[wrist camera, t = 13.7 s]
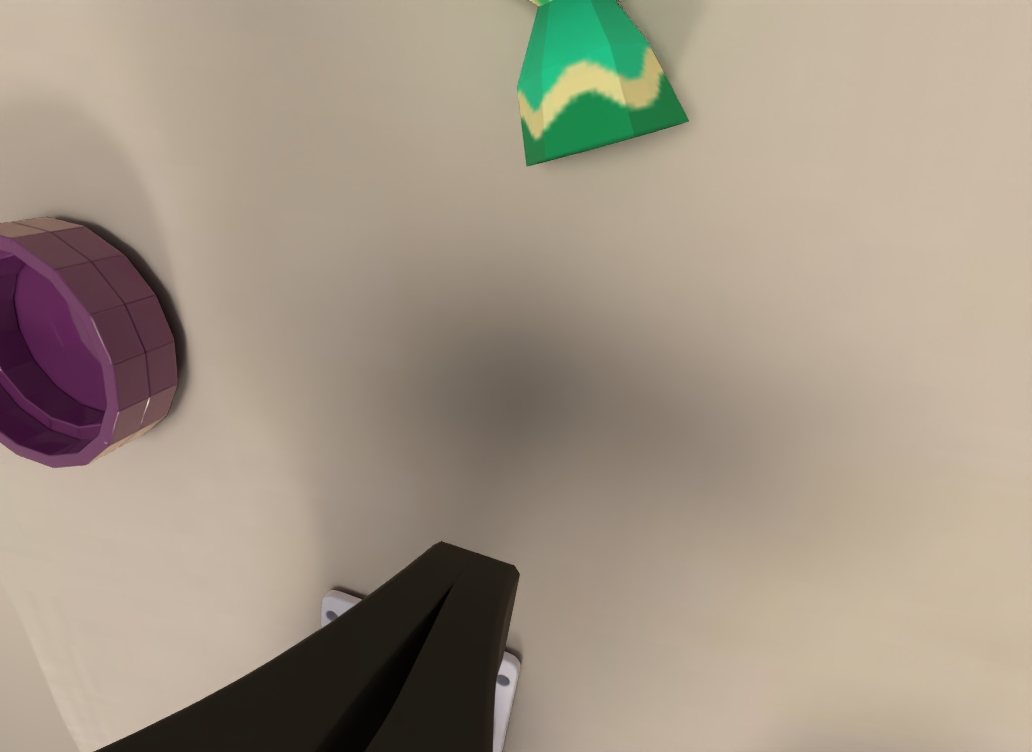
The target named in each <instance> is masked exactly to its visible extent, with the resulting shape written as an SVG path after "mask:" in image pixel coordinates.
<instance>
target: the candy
mask: <svg viewBox="0 0 1032 752" xmlns="http://www.w3.org/2000/svg"><path fill="white" fill-rule="evenodd" d="M529 1H531V2H532V3H534V4H536V5H538V10H537V14H536V18H535V21H534V25H533V29H532V33H531V36H530V40H529V44H528V48H527V52H526V55H525V59H524V63H523V67H522V70H521V74H520V78H519V82H518V85H517V91H518V99H519V107H520V116H521V124H522V132H523V140H524V148H525V157H526V165H527V166H531V165H535V164H539V163H542V162H546V161H550V160H554V159H558V158H562V157H565V156H569V155H573V154H577V153H581V152H584V151H588V150H591V149H595V148H599V147H602V146H606V145H609V144H613V143H617V142H620V141H624V140H627V139H631V138H635V137H638V136H642V135H645V134H649V133H653V132H656V131H659V130H662V129H666V128H669V127H672V126H676V125H679V124H682V123H685V122H689V120H688V118H687V116H686V114H685V112H684V110H683V108H682V106H681V104H680V103H679V101H678V99H677V97H676V95H675V93H674V91H673V89H672V87H671V85H670V83H669V82H668V80H667V78H666V76H665V74H664V72H663V70H662V68H661V66H660V64H659V62H658V61H657V59H656V57H655V55H654V53H653V51H652V49H651V47H650V45H649V43H648V42H647V40H646V39H645V38H644V37H643V35H642V34H641V33H640V32H639V30H638V29H637V28H636V26H635V25H634V24H633V23H632V21H631V20H630V19H629V18H628V16H627V15H626V14H625V12H624V11H623V10H622V9H621V7H620V6H619V5H618V4H617V2H616V1H615V0H529Z"/></svg>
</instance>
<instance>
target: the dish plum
mask: <svg viewBox="0 0 1032 752" xmlns="http://www.w3.org/2000/svg"><path fill="white" fill-rule="evenodd" d="M177 382H178V376H177V364H176V352H175V342H174V337H173V335H172V332H171V330H170V327H169V325H168V322H167V319H166V317H165V314H164V312H163V310H162V308H161V306H160V303H159V301H158V298H157V296H155V293H154V292H153V290H152V289H151V288H150V287H149V285H148V284H147V283H146V281H145V280H144V279H143V278H142V276H141V275H140V274H139V272H138V271H137V270H136V269H135V267H134V266H133V265H132V263H131V262H130V261H129V260H128V258H127V257H126V256H125V255H123V253H122V252H120V251H119V250H117V249H116V248H115V247H113V246H112V245H110V244H109V243H108V242H106V241H105V240H103V239H102V238H101V237H99V236H98V235H96V234H95V233H94V232H92V231H91V230H89V229H88V228H86V227H85V226H82V225H78V224H74V223H70V222H66V221H62V220H58V219H54V218H50V217H41V218H33V219H26V220H19V221H12V222H4V223H0V443H2V444H3V445H4V446H6V447H7V448H8V449H10V450H11V451H13V452H14V453H15V454H17V455H19V456H21V457H24V458H27V459H30V460H32V461H35V462H38V463H41V464H44V465H46V466H49V467H52V468H60V467H71V466H82V465H87V464H89V463H91V462H93V461H95V460H97V459H99V458H101V457H102V456H104V455H106V454H108V453H110V452H112V451H113V450H115V449H117V448H118V447H121V446H123V445H124V444H126V443H128V442H130V441H132V440H134V439H136V438H137V437H139V436H141V435H143V434H145V433H146V432H147V431H148V430H150V429H151V428H152V427H153V426H155V425H156V424H157V423H158V422H160V421H161V420H162V419H163V418H164V417H165V416H166V415H167V414H168V411H169V408H170V405H171V402H172V400H173V397H174V394H175V391H176V388H177V385H178V383H177Z"/></svg>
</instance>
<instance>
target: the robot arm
mask: <svg viewBox="0 0 1032 752" xmlns="http://www.w3.org/2000/svg"><path fill="white" fill-rule="evenodd" d="M519 576H520V573H519V572H518V570H517V569H516V567H515V566H514V565H511V564H508V563H505V562H502V561H499V560H496V559H493V558H490V557H487V556H484V555H481V554H478V553H475V552H472V551H469V550H466V549H463V548H460V547H457V546H454V545H451V544H448V543H445V542H442V541H441V542H439V543H437V544H434V545H433V546H432V547H431V548H429V549H428V550H427V551H426V552H424V553H423V554H422V555H421V556H419V557H418V558H417V559H416V560H414V561H413V562H412V563H411V564H409V565H408V566H407V567H406V568H404V569H403V570H402V571H400V572H399V573H398V574H397V575H395V576H394V577H393V578H391V579H390V580H389V581H387V582H386V583H385V584H383V585H382V586H381V587H379V588H378V589H377V590H375V591H374V592H373V593H371V594H370V595H368V596H367V597H366V598H364V599H363V600H362V599H359V598H357V597H354V596H351V595H348V594H346V593H343V592H340V591H336V590H331V591H329V592H328V593H327V594H326V595H325V596H324V597H323V599H322V614H321V629H320V630H318V631H316V632H315V633H313V634H312V635H310V636H309V637H307V638H306V639H304V640H302V641H301V642H299V643H298V644H296V645H295V646H293V647H291V648H290V649H288V650H287V651H285V652H284V653H282V654H280V655H279V656H277V657H276V658H274V659H272V660H271V661H269V662H267V663H266V664H264V665H262V666H261V667H259V668H257V669H256V670H254V671H252V672H250V673H249V674H247V675H245V676H244V677H242V678H240V679H238V680H237V681H235V682H233V683H231V684H229V685H228V686H226V687H224V688H222V689H220V690H218V691H216V692H215V693H213V694H211V695H209V696H207V697H205V698H204V699H202V700H200V701H198V702H196V703H194V704H192V705H190V706H188V707H186V708H184V709H182V710H180V711H178V712H176V713H174V714H172V715H170V716H168V717H166V718H164V719H162V720H160V721H158V722H156V723H154V724H152V725H150V726H148V727H146V728H144V729H142V730H140V731H138V732H136V733H133V734H131V735H129V736H127V737H125V738H123V739H120V740H118V741H116V742H114V743H112V744H110V745H107V746H105V747H103V748H101V749H99V750H96V751H94V752H502V751H503V746H504V742H505V737H506V732H507V728H508V723H509V719H510V714H511V710H512V705H513V700H514V696H515V691H516V687H517V682H518V678H519V673H520V668H521V666H520V662H519V660H518V659H517V658H516V657H515V656H514V655H512V654H510V653H507V652H505V646H506V641H507V636H508V631H509V626H510V621H511V616H512V611H513V606H514V601H515V596H516V591H517V586H518V581H519ZM503 675H504V676H506V677H504V676H503Z"/></svg>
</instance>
